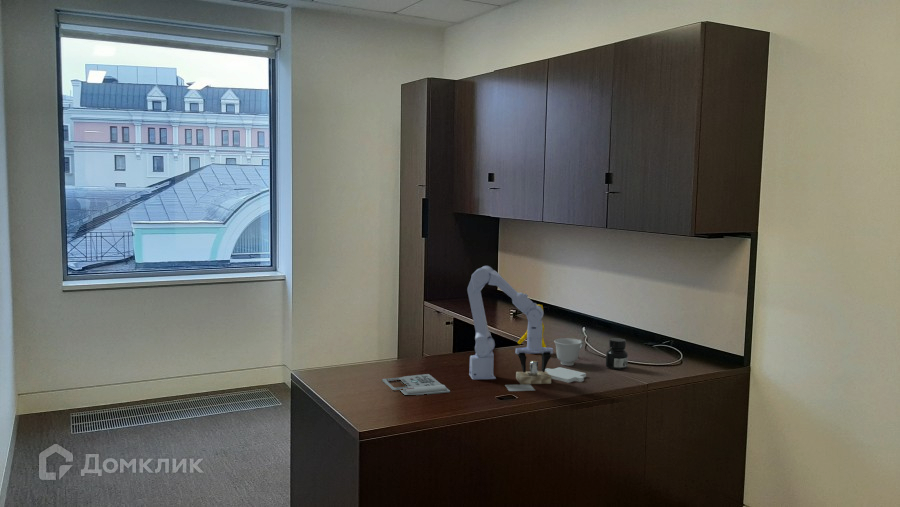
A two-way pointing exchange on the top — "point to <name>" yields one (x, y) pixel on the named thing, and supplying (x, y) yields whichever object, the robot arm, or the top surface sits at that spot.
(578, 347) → the teacup
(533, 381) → the hole block
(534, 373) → the peg
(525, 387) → the mat
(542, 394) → the top surface
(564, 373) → the mounting plate
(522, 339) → the figure statuette
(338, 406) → the top surface
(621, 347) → the ink bottle
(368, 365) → the top surface
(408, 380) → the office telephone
